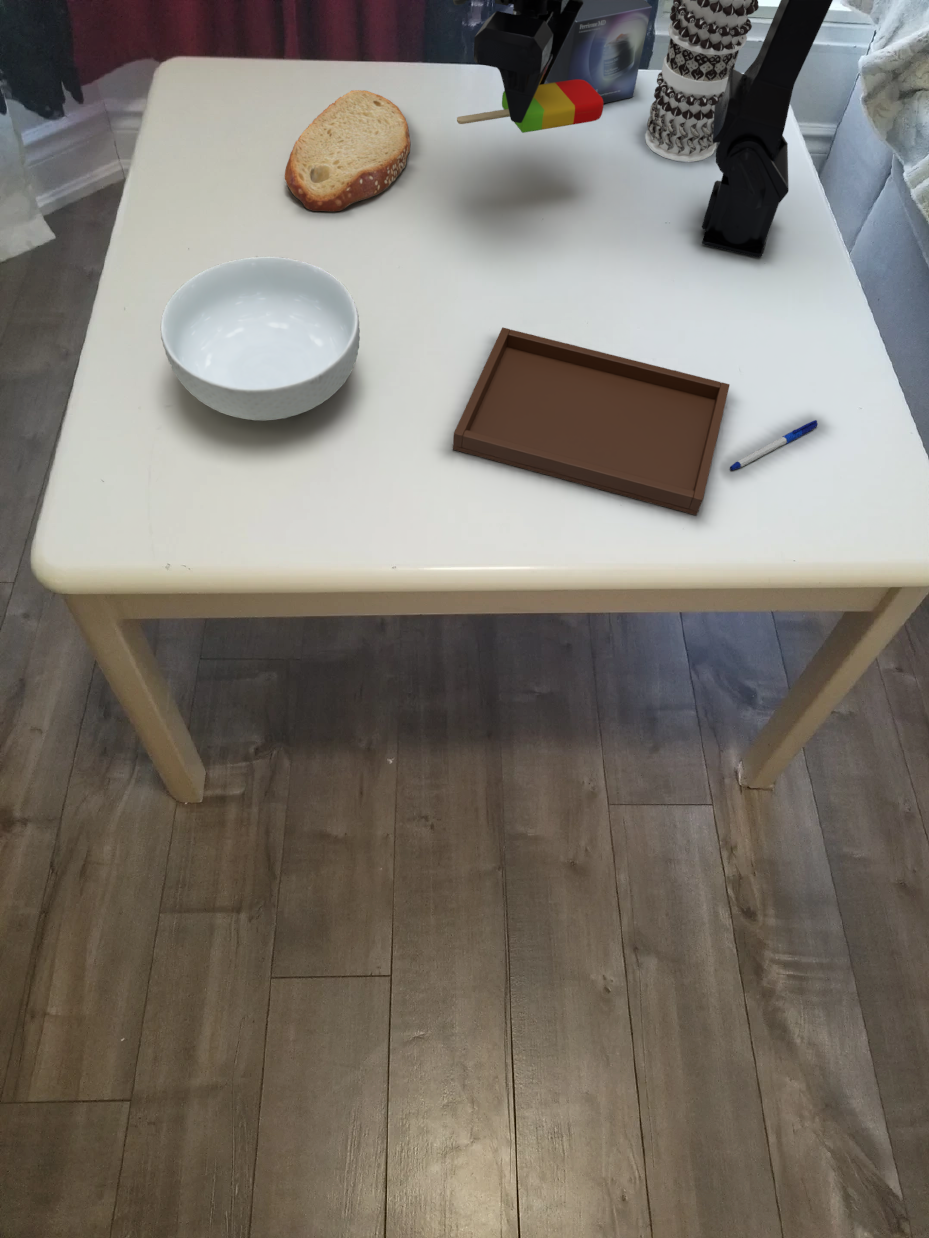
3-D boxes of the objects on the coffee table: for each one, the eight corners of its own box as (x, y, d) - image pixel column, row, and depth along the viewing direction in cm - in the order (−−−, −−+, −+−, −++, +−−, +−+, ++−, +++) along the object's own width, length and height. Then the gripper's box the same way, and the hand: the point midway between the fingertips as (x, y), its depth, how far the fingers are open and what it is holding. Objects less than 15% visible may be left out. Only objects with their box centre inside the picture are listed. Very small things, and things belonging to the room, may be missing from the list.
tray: (723, 400, 84) (729, 384, 83) (696, 515, 77) (702, 500, 75) (500, 344, 87) (502, 327, 86) (452, 449, 80) (453, 433, 78)
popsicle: (605, 121, 92) (609, 102, 91) (467, 144, 89) (468, 124, 87) (582, 95, 95) (585, 76, 93) (447, 116, 91) (447, 96, 90)
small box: (562, 116, 110) (575, 21, 101) (536, 90, 113) (546, -5, 104) (636, 98, 113) (654, 4, 104) (607, 73, 116) (623, -20, 107)
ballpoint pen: (810, 422, 84) (814, 414, 83) (817, 428, 83) (821, 420, 82) (727, 469, 80) (731, 461, 79) (734, 475, 80) (738, 468, 79)
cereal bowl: (159, 341, 85) (140, 276, 79) (330, 304, 89) (324, 239, 83) (201, 469, 77) (183, 407, 71) (388, 422, 81) (386, 360, 75)
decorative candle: (685, 113, 112) (748, -141, 91) (735, 151, 108) (813, -105, 87) (626, 132, 109) (676, -126, 88) (674, 171, 105) (740, -89, 84)
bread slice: (379, 101, 110) (378, 68, 107) (456, 177, 102) (457, 145, 99) (240, 137, 104) (235, 104, 101) (310, 222, 96) (306, 189, 93)
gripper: (489, -138, 84) (480, 44, 97) (417, -57, 74) (418, 133, 87) (606, -117, 82) (581, 65, 95) (549, -32, 72) (530, 158, 86)
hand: (527, 103), depth 91 cm, fingers closed on popsicle, 7 cm apart
